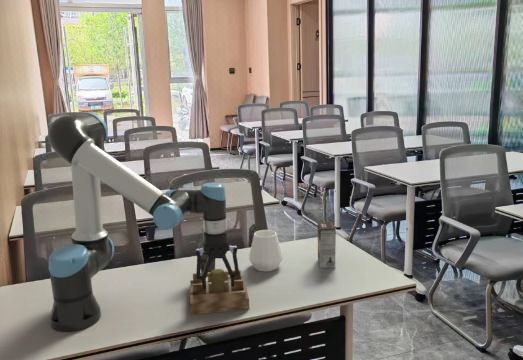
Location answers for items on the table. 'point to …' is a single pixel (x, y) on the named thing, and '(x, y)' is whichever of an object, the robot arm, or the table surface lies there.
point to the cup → (265, 251)
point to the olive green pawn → (217, 281)
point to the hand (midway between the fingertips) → (219, 296)
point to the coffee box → (326, 244)
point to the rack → (218, 296)
